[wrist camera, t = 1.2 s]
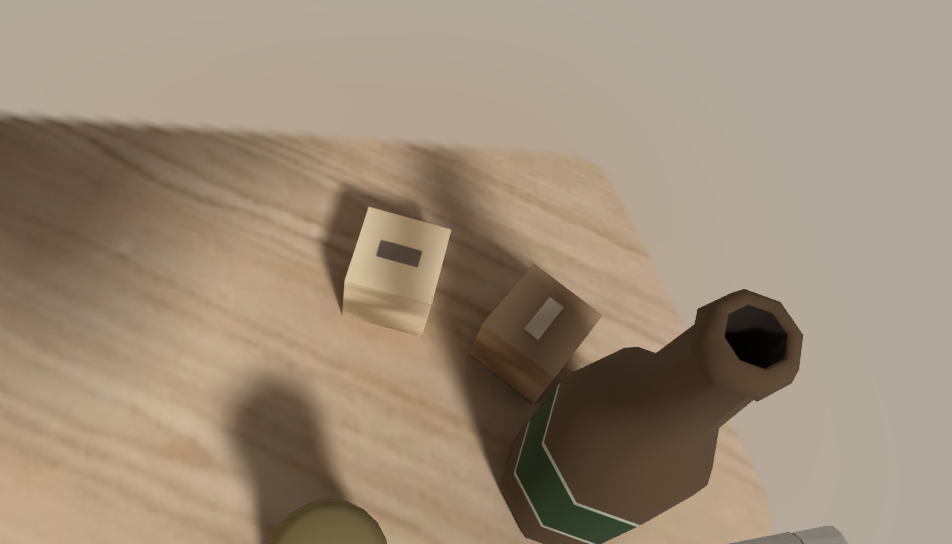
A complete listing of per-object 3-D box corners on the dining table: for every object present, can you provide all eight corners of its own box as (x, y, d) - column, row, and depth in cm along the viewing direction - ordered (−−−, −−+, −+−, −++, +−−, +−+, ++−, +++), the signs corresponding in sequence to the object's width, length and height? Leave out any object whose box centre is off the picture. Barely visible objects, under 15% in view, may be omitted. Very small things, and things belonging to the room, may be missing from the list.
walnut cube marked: (466, 352, 50) (481, 320, 46) (513, 296, 53) (531, 260, 48) (533, 404, 50) (555, 377, 45) (578, 346, 52) (603, 314, 47)
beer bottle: (550, 395, 50) (721, 186, 29) (652, 481, 49) (910, 330, 27) (469, 492, 46) (595, 337, 25) (576, 587, 45) (803, 509, 24)
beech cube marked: (339, 315, 50) (342, 279, 45) (362, 245, 52) (366, 204, 48) (421, 337, 50) (431, 303, 46) (440, 267, 53) (451, 228, 48)
